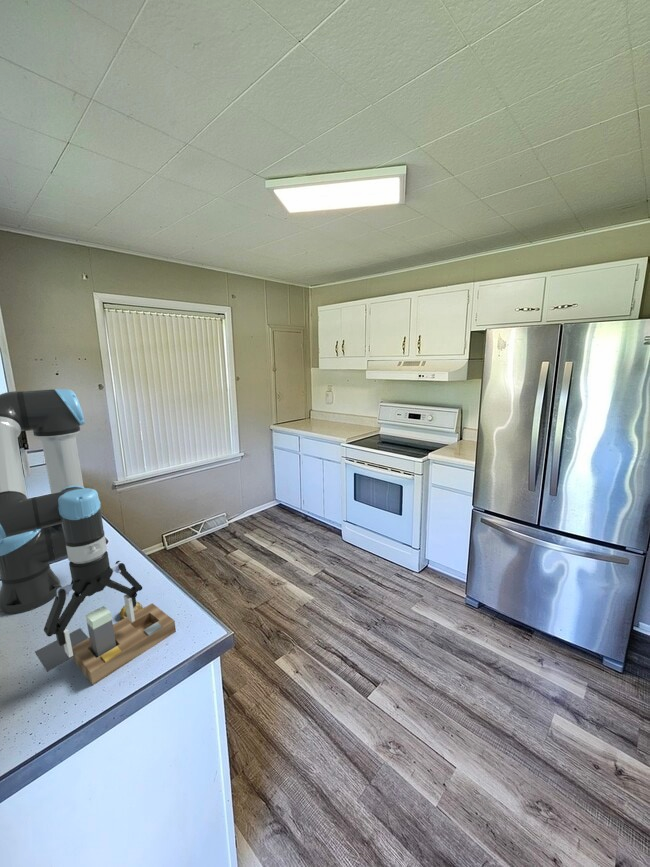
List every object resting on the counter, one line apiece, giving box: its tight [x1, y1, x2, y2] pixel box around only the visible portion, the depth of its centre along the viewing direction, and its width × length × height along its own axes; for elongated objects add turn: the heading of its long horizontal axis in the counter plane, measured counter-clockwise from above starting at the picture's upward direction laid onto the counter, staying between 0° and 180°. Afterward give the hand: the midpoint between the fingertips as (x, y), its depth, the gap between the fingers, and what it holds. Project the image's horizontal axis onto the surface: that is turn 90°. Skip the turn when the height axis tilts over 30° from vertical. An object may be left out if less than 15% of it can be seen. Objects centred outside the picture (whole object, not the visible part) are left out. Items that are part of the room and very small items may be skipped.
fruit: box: [119, 601, 144, 620], centre depth 102 cm, size 8×8×4 cm
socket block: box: [72, 603, 177, 686], centre depth 90 cm, size 12×20×4 cm, turn 142°
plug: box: [85, 605, 116, 658], centre depth 86 cm, size 4×4×12 cm
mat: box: [34, 627, 89, 672], centre depth 90 cm, size 10×10×1 cm
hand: (102, 635), depth 86 cm, fingers open, 13 cm apart
